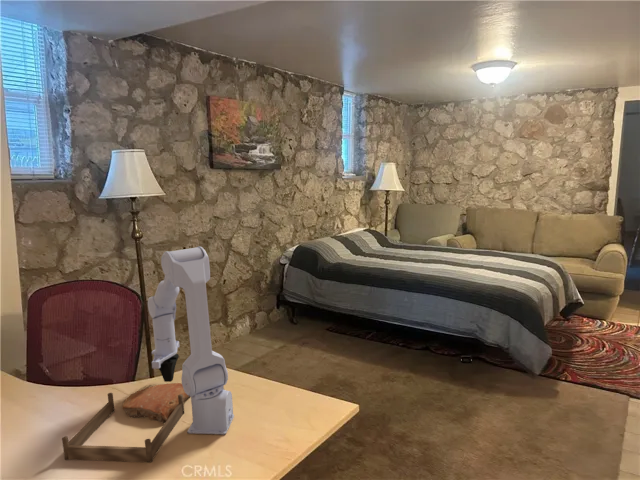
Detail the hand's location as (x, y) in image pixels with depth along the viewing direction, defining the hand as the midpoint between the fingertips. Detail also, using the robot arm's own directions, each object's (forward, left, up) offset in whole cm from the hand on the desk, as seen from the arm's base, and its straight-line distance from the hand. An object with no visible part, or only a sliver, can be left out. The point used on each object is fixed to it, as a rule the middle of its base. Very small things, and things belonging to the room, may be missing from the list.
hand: (168, 380), depth 133 cm
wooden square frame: (0, +24, -1) cm, 24 cm away
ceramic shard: (-1, +11, -2) cm, 11 cm away
